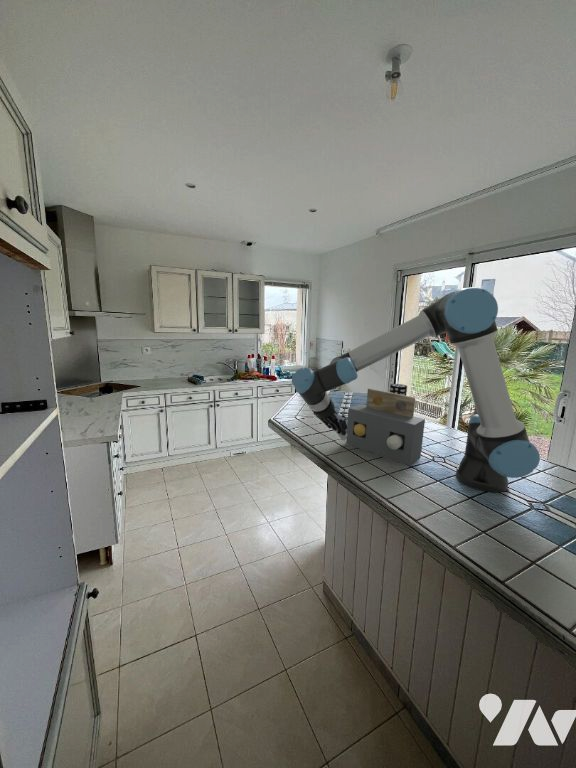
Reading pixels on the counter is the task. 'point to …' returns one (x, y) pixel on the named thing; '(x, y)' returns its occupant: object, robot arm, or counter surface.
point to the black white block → (398, 389)
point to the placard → (391, 402)
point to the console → (386, 433)
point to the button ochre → (360, 429)
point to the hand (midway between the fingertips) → (344, 437)
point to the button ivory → (395, 441)
